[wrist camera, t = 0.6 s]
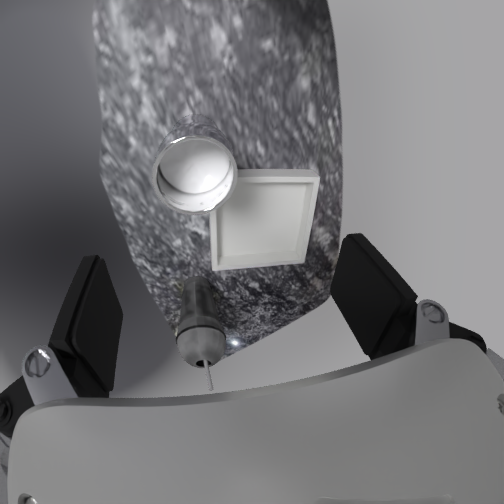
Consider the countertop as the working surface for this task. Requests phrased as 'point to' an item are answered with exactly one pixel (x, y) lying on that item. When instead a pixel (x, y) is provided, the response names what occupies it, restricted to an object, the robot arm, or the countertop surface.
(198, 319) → the beverage cup
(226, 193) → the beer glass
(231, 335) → the countertop surface
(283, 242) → the tray
